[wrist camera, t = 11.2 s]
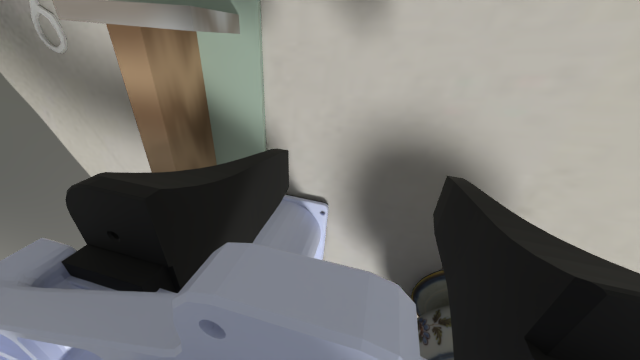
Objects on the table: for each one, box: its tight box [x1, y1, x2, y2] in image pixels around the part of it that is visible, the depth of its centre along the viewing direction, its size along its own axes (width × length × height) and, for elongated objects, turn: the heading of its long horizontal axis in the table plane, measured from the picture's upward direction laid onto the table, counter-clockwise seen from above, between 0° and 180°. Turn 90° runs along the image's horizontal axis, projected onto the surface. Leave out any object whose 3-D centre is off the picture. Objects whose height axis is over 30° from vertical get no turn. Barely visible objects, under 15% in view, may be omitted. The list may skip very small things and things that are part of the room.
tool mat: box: [110, 0, 266, 165], centre depth 22 cm, size 15×13×1 cm
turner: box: [52, 0, 240, 173], centre depth 20 cm, size 13×10×5 cm
